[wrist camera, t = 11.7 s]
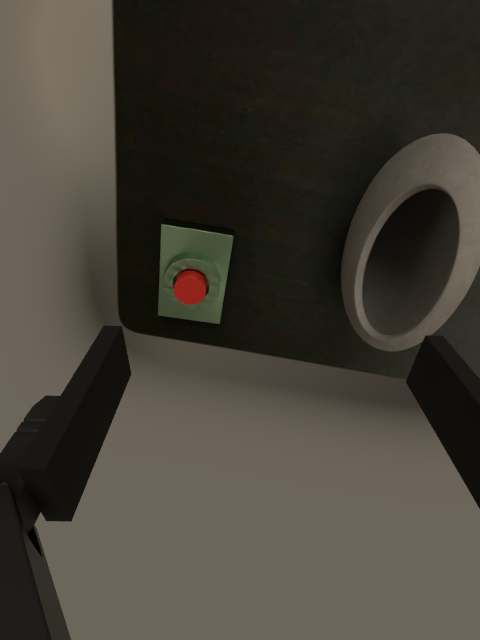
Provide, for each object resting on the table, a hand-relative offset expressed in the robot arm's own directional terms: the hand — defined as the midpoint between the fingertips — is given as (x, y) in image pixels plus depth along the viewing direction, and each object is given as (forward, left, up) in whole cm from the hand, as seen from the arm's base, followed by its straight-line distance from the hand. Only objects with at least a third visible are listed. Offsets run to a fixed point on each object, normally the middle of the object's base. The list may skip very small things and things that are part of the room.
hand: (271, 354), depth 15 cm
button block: (+6, -9, -27) cm, 29 cm away
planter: (+5, +12, -27) cm, 30 cm away
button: (+6, -9, -23) cm, 26 cm away
